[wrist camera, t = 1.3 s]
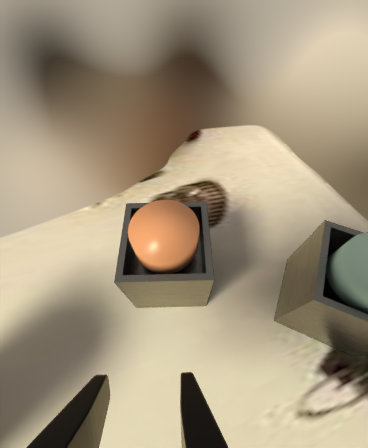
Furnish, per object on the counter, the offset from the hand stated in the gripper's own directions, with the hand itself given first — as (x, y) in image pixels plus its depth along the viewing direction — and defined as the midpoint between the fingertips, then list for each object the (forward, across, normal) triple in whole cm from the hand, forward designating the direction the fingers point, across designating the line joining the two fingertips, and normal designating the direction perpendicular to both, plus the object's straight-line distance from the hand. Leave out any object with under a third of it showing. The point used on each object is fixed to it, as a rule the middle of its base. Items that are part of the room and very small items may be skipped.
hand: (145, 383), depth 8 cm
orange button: (+11, 0, -2) cm, 11 cm away
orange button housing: (+16, 0, +3) cm, 16 cm away
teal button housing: (+14, -15, +6) cm, 21 cm away
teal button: (+9, -15, +1) cm, 17 cm away
